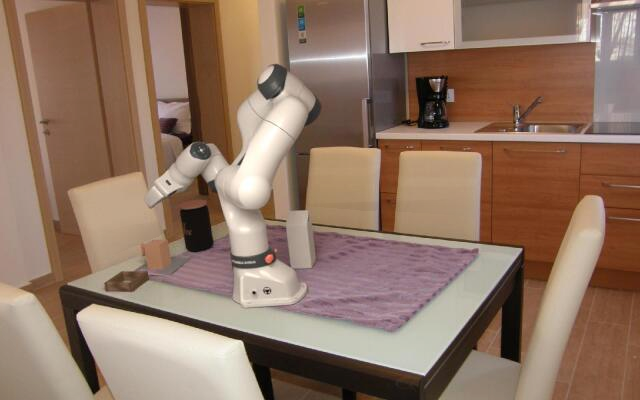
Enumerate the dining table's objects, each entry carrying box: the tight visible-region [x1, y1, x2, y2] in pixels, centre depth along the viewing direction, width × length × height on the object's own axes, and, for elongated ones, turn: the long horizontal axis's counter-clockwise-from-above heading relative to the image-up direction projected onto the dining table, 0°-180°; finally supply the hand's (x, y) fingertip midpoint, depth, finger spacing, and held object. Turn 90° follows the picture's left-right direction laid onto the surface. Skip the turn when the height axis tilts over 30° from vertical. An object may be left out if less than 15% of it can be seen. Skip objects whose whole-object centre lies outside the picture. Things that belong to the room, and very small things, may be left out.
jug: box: [139, 239, 172, 270], centre depth 205 cm, size 9×6×9 cm, turn 75°
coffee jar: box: [178, 199, 214, 253], centre depth 221 cm, size 11×11×18 cm
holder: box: [103, 270, 150, 293], centre depth 192 cm, size 10×10×3 cm
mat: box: [133, 257, 191, 276], centre depth 206 cm, size 16×16×1 cm
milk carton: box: [285, 209, 317, 270], centre depth 192 cm, size 7×7×19 cm
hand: (159, 201), depth 201 cm, fingers open, 8 cm apart
